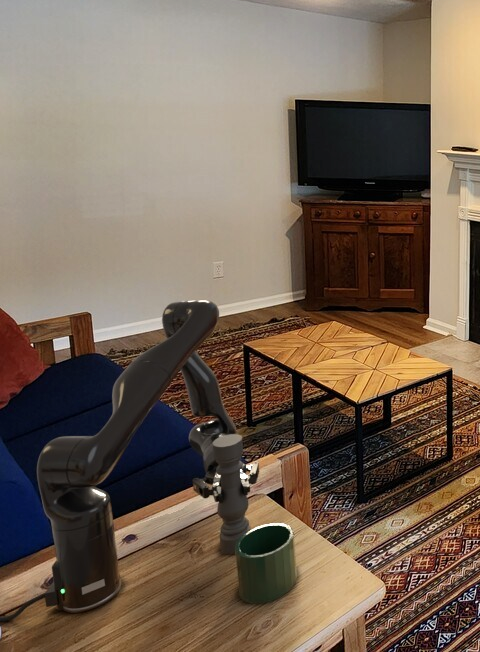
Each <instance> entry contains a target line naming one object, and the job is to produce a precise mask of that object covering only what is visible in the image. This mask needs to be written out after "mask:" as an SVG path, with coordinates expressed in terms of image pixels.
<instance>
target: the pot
mask: <svg viewBox="0 0 480 652" xmlns="http://www.w3.org/2000/svg"><path fill="white" fill-rule="evenodd" d="M295 544H296V543H295V532H294V529H293V528H292V527H291V526H290V525H289V524H285V523H281V522H280V523H277V522H276V523H275V522H273V523H268V524H262V525H260V526H256V527H254V528H251V530H250V531H248V532H247V533H245V534H244V535H243V536H241V538H240V539H239V540H238V541H237V543H236V546H235V554H234V555H235V563H236V574H237V575H236V576H237V586H238V589H237V590H238V596H239V598H240V599H241V600H242V601H243V602H245V603H248V604H256V605H257V604H258V605H259V604H264V603H269V602H273V601H274V600H277V599H279V598H281V597H283V596H284V595H286V594H287V593H288V592H289V591H290V590H291V589H292V588H293V587H294V585H295V583H296V582H297V576H298V573H297V572H298V569H297V557H296V545H295Z"/></svg>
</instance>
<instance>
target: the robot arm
mask: <svg viewBox="0 0 480 652" xmlns="http://www.w3.org/2000/svg"><path fill="white" fill-rule="evenodd" d="M161 315H162V317H161V321H162V322H161V324H162V328H163V332H164V335H165V337H166V339H165V340H163V341H161V342H159V343H157V344H156V345H153V346H152V347H151V348H148V349H147V350H145V351H144V352H142V353H141V354H139V355H138V356H136V357H135V358H134V359H133V360H132V361H131V362H130V363H129V364H128V366H127V367H126V368H124V370H123V371H122V373H121V374H120V375H119V376H118V378H117V379H116V380H115V382H114V384H113V386H112V393H111V402H112V414H111V415H110V418H109V419H108V421H107V422H106V423H105V425H104V426H103V427H102V428H101V430H99V432H98V433H96V434H95V435H93V436H92V435H65V436H64V435H63V436H59V437H56V438H54V439H52V440H50V441H49V442H47V444H46V445H44V447H43V449H42V450H41V451H40V454H39V457H38V460H37V465H36V477H37V479H36V480H37V482H38V483H37V484H38V489H39V493H40V497H41V503H42V507H43V511H44V514H45V515H46V517H47V518H48V519H49V520H50V524H51V530H52V538H53V544H54V552H55V559H56V560H55V561H54V562H53V564H51V565H52V566H51V574H52V580H53V581H52V582H51V584H50V585H49V587H48V588H47V589H46V591H45V592H44V593H42V594H39V595H37V596H36V597H34V598H32V599H30V600H28V601H27V602H24V603H23V604H22V605H21V606H20V607H19V608H18V609H17V610H16V611H15V612H14V613H12V614H10V615H7V616H0V623H2V622H7V621H10V620H13V619H15V618H17V617H19V616H20V615H21V613H23V612H24V610H26V609H27V608H28V607H30V606H32V605H33V604H34V603H37V602H38V601H40V600H43V599H44V600H45V607H46V608H50V607H55V606H56V608H57V609H56V610H57V611H58V612H59V611H64V612H66V613H71V614H72V613H73V614H76V613H84V612H87V611H91V610H93V609H96V608H99V607H101V606H103V605H104V604H106V603H108V602H109V601H110V600H112V599H113V598H114V597H115V596H116V595H117V594H118V593H119V591H121V588H122V580H121V574H120V567H119V566H120V565H119V558H118V549H117V543H116V533H115V526H114V525H115V524H114V518H113V509H112V500H111V497H110V495H109V493H108V492H107V491H105V490H103V489H100V488H98V487H97V486H98V485H99V484H101V483H103V482H104V481H105V480H106V479H107V478H108V477H109V476H110V474H111V473H112V472H113V470H114V469H115V467H116V466H117V464H118V462H119V461H120V459H121V457H122V456H123V454H124V452H125V451H126V450H127V447H128V446H129V444H130V442H131V440H132V439H133V437H134V436H135V433H136V432H137V430H138V428H139V427H140V426H141V424H142V423H143V421H144V420H145V419H146V417H147V416H148V414H149V413H150V412H151V410H152V408H153V407H154V406H155V405H156V403H158V401H159V400H160V399H161V397H162V396H163V395H164V394H165V392H166V391H167V389H168V388H169V386H170V385H171V383H172V382H173V381H174V379H175V378H176V376H177V375H178V374H179V372H180V373H181V376H182V378H183V380H184V383H185V387H186V392H187V396H188V400H189V405H190V410H191V413H192V415H193V416H194V417H197V418H206V417H207V418H208V417H214V418H215V419H211V420H208V421H204V422H202V423H199V424H196V425H195V426H193V427H192V428H191V430H190V431H189V433H188V441H189V445H190V446H191V449H193V451H194V452H196V453H197V454H198V455H200V456H201V457H202V464H203V470H204V471H205V476H204V477H203V478H199V477H194V478H193V479H192V488H193V489H192V490H193V492H194V493H196V494H198V495H199V496H200V497H202V498H203V499H208V498H210V496H212V497H213V500H214V502H215V503H218V502H219V504H220V503H223V496H222V491H221V477H220V475H219V474H218V473H217V472H216V468H217V467H218V466H219V465H218V463H217V462H216V459H214V453H213V442H214V441H215V440H216V439H217V438H219V437H222V436H225V435H230V434H237V426H236V424H235V423H234V421H233V420H232V417H231V416H230V414H229V413H228V411H227V409H226V407H225V405H224V402H223V398H222V397H223V396H222V393H221V388H220V383H219V380H218V378H217V375H216V374H215V372H214V370H213V369H212V368H211V367H210V366H209V365H208V364H207V363H206V362H205V360H203V358H202V357H201V356H200V354H199V353H198V352H197V350H198V349H199V348H200V347H201V346H202V345H203V344H204V343H205V342H206V341H207V340H208V339H209V338H210V337H211V335H212V334H213V333H214V332H215V330H216V328H217V327H218V323H219V320H220V310H219V307H218V306H217V304H216V303H215V302H213V301H210V300H206V299H197V300H196V299H195V300H181V301H174V302H171V303H169V304H168V305H167V306H166V307H165V308H164V310H163V312H162V314H161ZM240 461H241V462H243V460H242V457H241V458H240ZM247 472H248V474H249V475H247ZM259 474H260V462H259V461H258V460H256V461H253V462H252V464H250V465H247V464H246V463H244V462H243V467H242V469H241V470H240V476H241V483H242V488H243V494H244V496H249V494H250V492H251V485H255V484H257V481H258V479H259V478H258V477H259ZM209 485H210V486H209Z"/></svg>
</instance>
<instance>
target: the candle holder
mask: <svg viewBox="0 0 480 652" xmlns="http://www.w3.org/2000/svg"><path fill="white" fill-rule="evenodd" d="M243 444H244V443H243V435H240V434H238V433H236V434H230V435H225V436H222V437H219V438H217V439H216V440H215V441H214V442H213V453H214V459H216V462H217V463H218V465H219V466H218V467H217V468H216V472H217V473H218V474H219V475H220V477H221V491H222V496H223V503H220V504H219V502H217V508H216V509H217V510H216V511H217V515H218V516H219V518H221V519H222V522H223V523H222V524H221V526H220V529H219V531H220V533H219V545H220V552H221V553H222V554H224V555H236V554H235V546H236V543H237V541H238V540H239V539H240V538H241V536H243V535H244V534H245V533H247V532H248V531H250V530H252V527H251V525H250V521H249V519H248V518H247V517H246V513H247V511H248V509H249V499H248V495H246V496H244V494H243V488H242V483H241V476H240V470H241V469H242V467H243V463H244V462H243V461H242V462H241V461H240V458H241V459H242V457H243V453H244V446H243Z"/></svg>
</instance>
